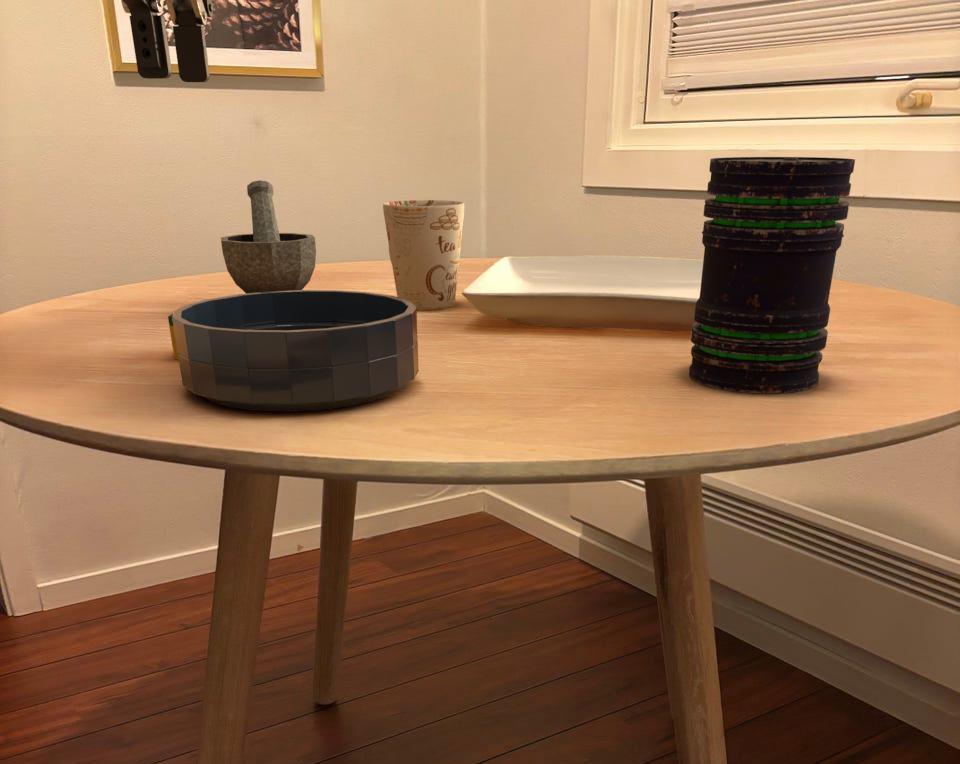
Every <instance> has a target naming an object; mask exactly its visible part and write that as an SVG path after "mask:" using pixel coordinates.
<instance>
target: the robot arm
mask: <svg viewBox="0 0 960 764" xmlns="http://www.w3.org/2000/svg"><path fill="white" fill-rule="evenodd" d="M164 2H165V4H164ZM164 5H166V9H167V10H168V13H169V16H170V19H171V22H172V24H173V25H172V30H173V38H174V47H175V53H176V60H177V61H176V62H177V68H178V76H179V78H180V80H181V81H182V82H184V83H207V82H208V81H209V80H210V77H211V76H210V65H209V59H208V52H207V51H208V50H207V43H206V35H205V26H206V25H207V23H208V18H213V16H214V6H213V1H212V0H121V6H122V8H123V11H124V13H126V14H130V15H129V22H130V29H131V36H132V42H133V50H134V56H135V61H136V66H137V67H136V68H137V69H136V70H137V73H138V75H139V76H140V77H141V78H143V79H148V80H157V79H158V80H159V79H160V80H161V79H162V80H164V79H165V80H167V79H169V78H170V77H171V76H172V74H173V70H172V64H171V63H172V62H171V55H170V48H169V41H168V35H167V25H166V20H165V16H164V15H158V14H162V13H163V12H164Z"/></svg>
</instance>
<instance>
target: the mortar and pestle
mask: <svg viewBox="0 0 960 764" xmlns="http://www.w3.org/2000/svg"><path fill="white" fill-rule="evenodd" d="M246 187H247V188H246V191H247V197H248V198H249V199H250V207H251V208H250V210H251V221H252V222H251V223H252V233H242V234H233V235H228V236H222V237H220V243H221V250H222V256H223V259H224V263H225V266H226V270H227V273H229V276H230V278H231V279H232V281H233V282H234V284H235V285H236V286H237V287H238V288H239V289H240V290H242V291H243V292H244V294H248V293H259V292H271V291H293V290H304V289H305V288H306V286H307V285H308V284H309V282H311V279H312V276H313V273H314V271H315V268H316V261H317V260H316V259H317V258H316V257H317V247H316V237H315V236H314V235H313V234H309V233H308V234H307V233H298V232H297V233H296V232H280V231H279V226H278V221H277V215H276V210H275V205H274V200H273V197H274V185H273V184H272V183H270V182H268V181H267V180H260V179H259V180H254V181H251V182H250V183H249V184H247V185H246Z"/></svg>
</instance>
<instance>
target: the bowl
mask: <svg viewBox="0 0 960 764" xmlns="http://www.w3.org/2000/svg"><path fill="white" fill-rule="evenodd" d="M172 314H173V317H172V321H173V327H174V334H175V340H176V346H177V352H178V359H179V360H178V364H179V365H178V366H179V373H180V379H181V385H182V387H184V388H186V389H187V390H189V391H190V392H191V393H193V394H194V395H197V396H201V397H204V398H206V399H207V400H208V401H210V402H213V403H215V404H218V405H221V406H224V407H225V406H226V407H230V408H235V409H240V410H250V411H261V412H309V411H310V412H311V411H322V410H331V409H339V408H340V409H341V408H346V407H352V406H358V405H362V404H366V403H371V402H373V401H377V400H380V399H382V398H385V397H388V396H390V395H391V394H394V393H395V392H397V391H398V390H399V389H400V388H401V387H403V386H405V385H407V384H409V383H410V382H413V381H414V380H415V379H416V377H417V375H418V373H419V371H420V370H419V368H420V367H419V341H418V337H419V336H418V309H417V307H416V306H415V305H414V304H413V303H412V302H411V301H409V300H406V299H402V298H399V297H397V296H396V295H391V294H384V293H379V292H378V293H376V292H370V291H369V292H368V291H357V290H341V289H338V290H337V289H302V290H293V291H271V292H259V293H248V294H246V293H238V294H232V295H225V296H219V297H212V298H207V299H203V300H199V301H195V302H191V303H188V304H185V305H183V306H181V307H179V308H177V309H175V310H174V311H173V312H172Z"/></svg>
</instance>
